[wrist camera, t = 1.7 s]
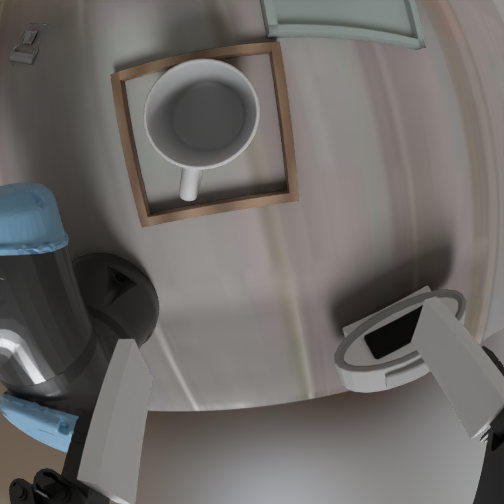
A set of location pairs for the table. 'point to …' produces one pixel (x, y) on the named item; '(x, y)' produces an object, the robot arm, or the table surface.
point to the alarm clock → (389, 343)
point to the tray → (345, 20)
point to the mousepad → (26, 40)
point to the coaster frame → (220, 205)
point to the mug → (201, 118)
